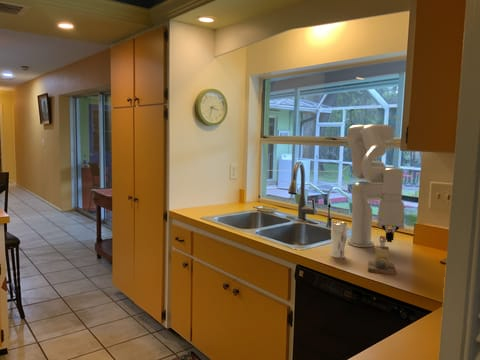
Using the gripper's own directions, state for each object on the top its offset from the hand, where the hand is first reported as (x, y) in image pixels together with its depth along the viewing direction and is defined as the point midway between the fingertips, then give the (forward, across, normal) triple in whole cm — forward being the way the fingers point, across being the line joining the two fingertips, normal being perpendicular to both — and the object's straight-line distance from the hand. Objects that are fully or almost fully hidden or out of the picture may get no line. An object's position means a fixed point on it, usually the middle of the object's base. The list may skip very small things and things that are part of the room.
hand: (389, 241), depth 162 cm
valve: (+10, -3, -6) cm, 12 cm away
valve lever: (+1, -3, -3) cm, 4 cm away
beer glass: (+10, -21, +6) cm, 24 cm away
